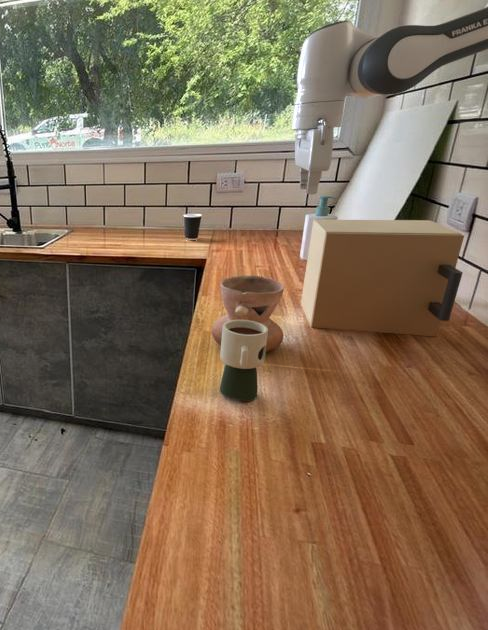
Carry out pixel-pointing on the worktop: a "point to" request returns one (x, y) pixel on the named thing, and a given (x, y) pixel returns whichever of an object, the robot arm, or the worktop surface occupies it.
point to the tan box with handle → (387, 282)
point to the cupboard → (354, 227)
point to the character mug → (242, 357)
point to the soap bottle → (320, 215)
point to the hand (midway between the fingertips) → (307, 191)
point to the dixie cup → (192, 225)
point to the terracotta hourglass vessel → (251, 305)
